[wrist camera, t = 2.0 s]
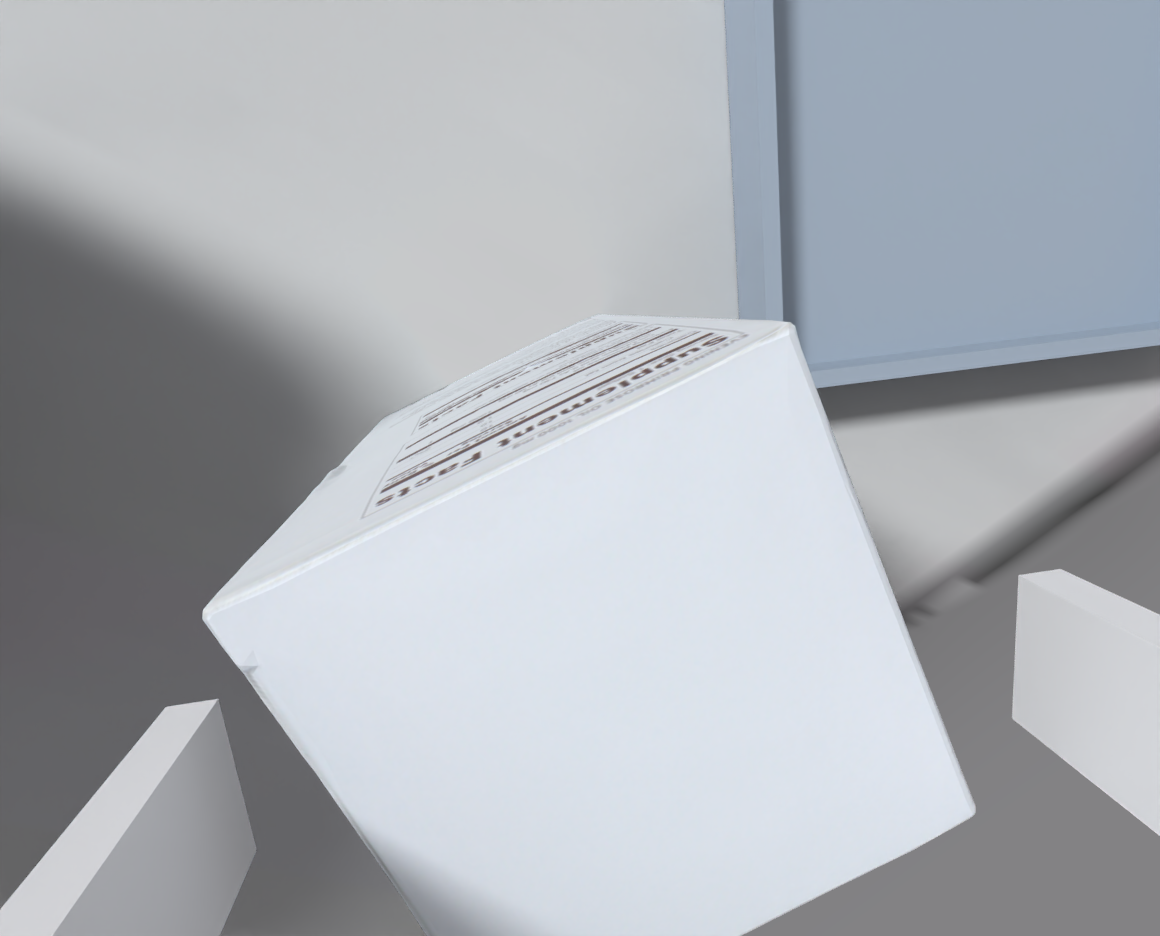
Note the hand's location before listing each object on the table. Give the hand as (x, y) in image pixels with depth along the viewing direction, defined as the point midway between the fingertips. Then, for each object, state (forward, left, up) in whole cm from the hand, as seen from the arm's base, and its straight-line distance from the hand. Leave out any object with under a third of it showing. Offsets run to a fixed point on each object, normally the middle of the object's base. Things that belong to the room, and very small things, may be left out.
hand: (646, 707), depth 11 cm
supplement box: (0, 0, -16) cm, 16 cm away
